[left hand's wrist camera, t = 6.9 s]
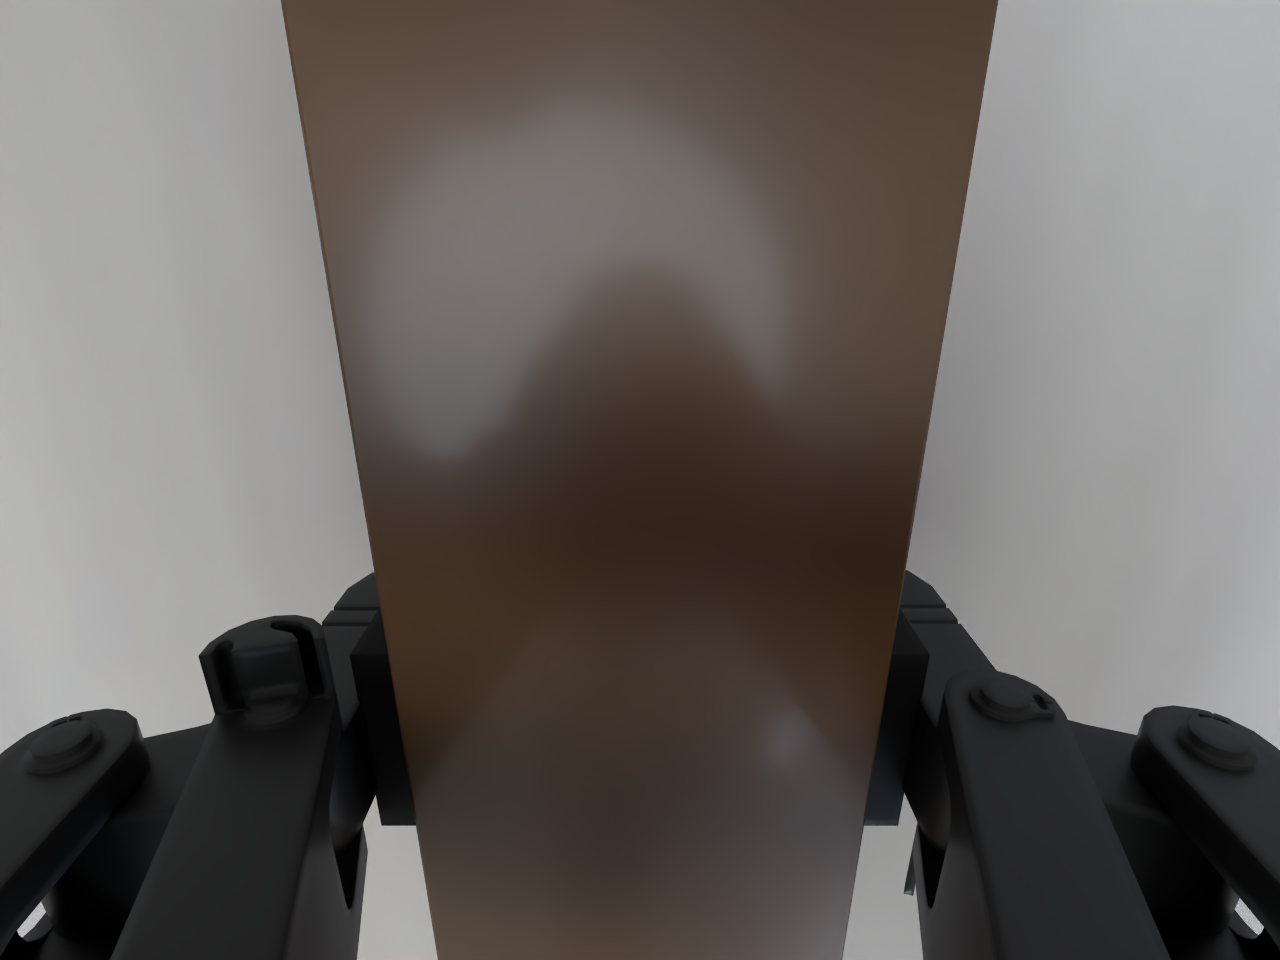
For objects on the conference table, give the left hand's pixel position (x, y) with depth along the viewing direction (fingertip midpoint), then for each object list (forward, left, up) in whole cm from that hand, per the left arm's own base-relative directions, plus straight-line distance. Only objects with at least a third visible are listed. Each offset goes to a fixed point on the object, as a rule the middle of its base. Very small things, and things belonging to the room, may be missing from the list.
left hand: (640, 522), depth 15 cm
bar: (+14, -15, 0) cm, 21 cm away
